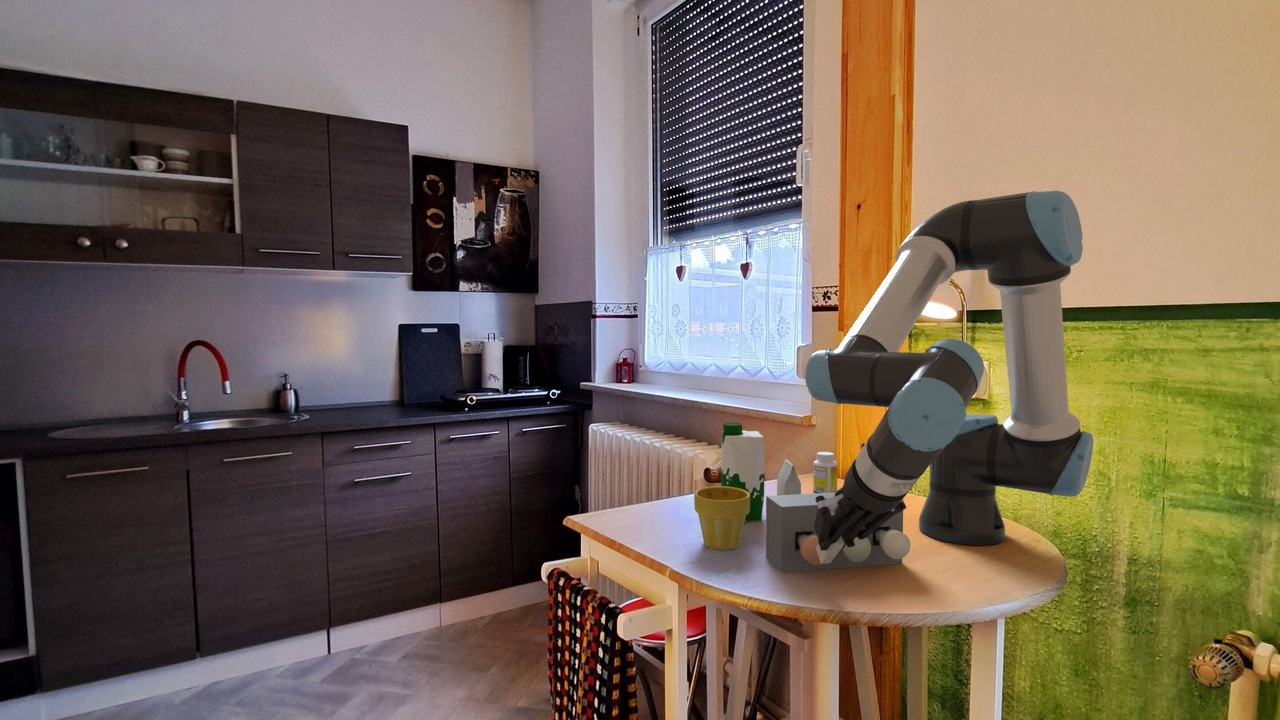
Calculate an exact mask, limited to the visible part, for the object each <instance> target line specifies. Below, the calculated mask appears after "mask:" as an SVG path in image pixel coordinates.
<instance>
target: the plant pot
mask: <svg viewBox="0 0 1280 720" xmlns="http://www.w3.org/2000/svg"><path fill="white" fill-rule="evenodd" d="M693 502H694V503H693V504H694V505H693V507H694V511H695V512H696V513H697V514H698V518H699V519H698V520H699V524H700V528H701V529H700V530H701V535H702V539H703V540H702V541H703V544H704V545H705V547H708V548H710V549H714V550H721V551H727V550H733V549H736V548H738V547H739V545H740V543H741V537H742V535H743V530H744V526H745V522H746V521H745V518H746V515H747V514H748V513H749V511H750V494H749V492H747V491H745V490H743V489H739V488H734V487H726V486H721V485H719V486H718V485H716V486H715V485H713V486H705V487H702V488H699V489H697V490H696V491H695V492H694V501H693Z"/></svg>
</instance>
